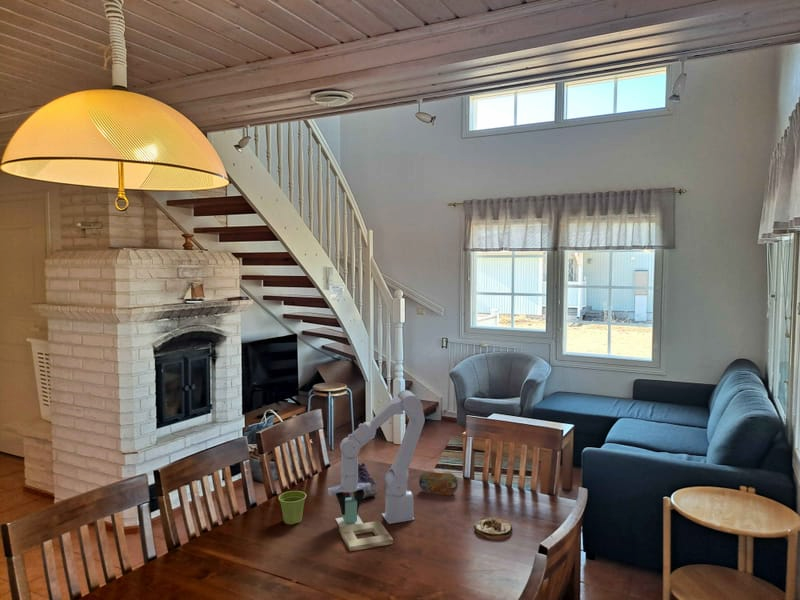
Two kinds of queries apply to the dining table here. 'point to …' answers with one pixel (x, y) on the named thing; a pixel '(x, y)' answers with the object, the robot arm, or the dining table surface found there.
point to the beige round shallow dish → (493, 528)
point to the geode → (365, 481)
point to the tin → (438, 482)
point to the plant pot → (292, 506)
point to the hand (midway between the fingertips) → (349, 512)
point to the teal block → (350, 510)
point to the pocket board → (369, 542)
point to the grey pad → (342, 523)
